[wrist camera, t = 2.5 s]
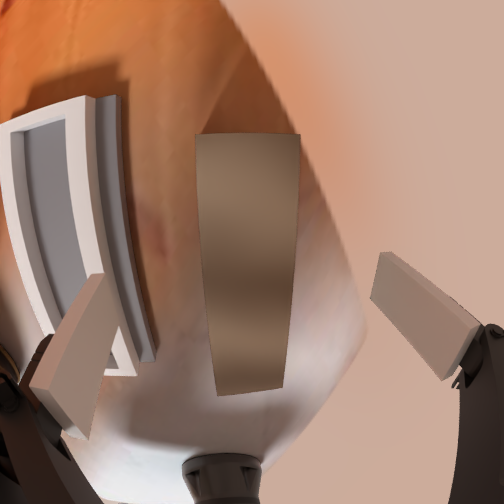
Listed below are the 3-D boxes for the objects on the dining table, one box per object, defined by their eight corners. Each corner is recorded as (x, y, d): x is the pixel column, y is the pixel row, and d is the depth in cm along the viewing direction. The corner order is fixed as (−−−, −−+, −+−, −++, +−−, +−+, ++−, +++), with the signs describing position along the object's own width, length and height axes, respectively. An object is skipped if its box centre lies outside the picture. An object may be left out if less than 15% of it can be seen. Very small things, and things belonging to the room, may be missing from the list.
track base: (156, 351, 26) (153, 376, 23) (61, 350, 24) (52, 370, 21) (121, 97, 16) (107, 89, 13) (8, 129, 15) (-15, 131, 11)
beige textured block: (251, 296, 25) (282, 387, 15) (207, 300, 25) (217, 396, 15) (250, 137, 20) (300, 134, 10) (198, 138, 19) (194, 134, 9)
